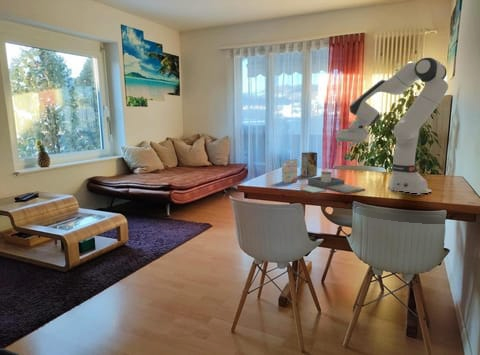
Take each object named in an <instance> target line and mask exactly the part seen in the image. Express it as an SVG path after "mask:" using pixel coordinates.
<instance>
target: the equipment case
mask: <svg viewBox="0 0 480 355" xmlns="http://www.w3.org/2000/svg"><path fill="white" fill-rule="evenodd" d="M307 184H308V185H310V186H313V187H317V188H321V189H325V190H331V191H334V190H335V192H338V191H339V192H338V193H341V194H352V193H353V192H354V193H358V191H359V192H364V190H365V191H366V188H364V187H359V186H355V185H350V184H346V183H345V179H342V178H337V177H333V176H331V182H323V181H321V176H315V177H307ZM354 193H353V194H354Z"/></svg>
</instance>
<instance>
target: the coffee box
mask: <svg viewBox="0 0 480 355" xmlns="http://www.w3.org/2000/svg"><path fill="white" fill-rule="evenodd" d="M300 161H301V164H300V166H301V169H300V170H301V172H300V173H301V174H300V176H303V177H314V176H315V177H316V176H318V174H317V172H318V152H316V151H315V152H314V151H313V152H312V151H307V152H306V151H305V152H301V160H300Z"/></svg>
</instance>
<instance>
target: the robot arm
mask: <svg viewBox="0 0 480 355" xmlns="http://www.w3.org/2000/svg"><path fill="white" fill-rule="evenodd" d="M446 77H447V68H446V66H444V64H442V63H441V62H440V61H439V60H437V59H435V58H433V57H427V56H426V57H423V58H420V59H419V60H418V61H417V62H416V61H409V62H406V64H404V65H402V67H401V68H400V69H398V71H396V72H395V73H394V75H392V76H391V77H389V78H387V79H381V80H379V81H378V82H377V83H375V84H374V85H373V86H372V87H371V86H370V88H369V89H368V90H367V91H365V92H364V93H363V94H361V95H360V96H359V97H357V98H356V99H354V100H353V101H352V102H351V103H350V105H349V111H350V114H353V115H354V116H355V118H354V120H353V121H352V122H351V124H350V125H349V126H348V128H343V129H341V130H339V132H338V133H337V134H336V135H335V139H336V141H337V143H336V146H337V147H340V146H341V145H342V143H343V142H345V143H349V144H348V148H353V147H354V146H356V144H362V143H364V142H365V140H367V137H368V136H369V134H370V133H369V130H368V129H367V127H371V126H374V125H375V124H376V123H377V122H378V120H379V119H380V112H379V111H378V110H377V109H376V108H374V107H373V106H372V105H370V104H369V103H368V102H367V101H368V100H369V99H370V98H371V97H373V96H374V95H376V94H377V93H386V94H389V95H394V96H398V95H402V94H404V93H405V92H407V90H408V89H409V88H410V87H411V86H413V84H414V83H416V82H417V81H419V80H420V81H421V82H422V83H424V86H423V88H422V90H421V91H420V93H419V94H418V95H417V96H416V98H415V100H414V101H413V102H412V104H411V105H410V106H409V108H408V109H407V111H406V112H405V113H404V114H403V115H402V116H401V118H399V121H398V122H396V124H395V125H394V127H393V129H392V130H393V131H392V132H393V135H394V137H395V138H396V142H395V145H394V146H395V147H394V150H393V161H392V162H393V163H392V164H391V177H390V180H389V183H388V186H387V187H388V189H389V190H390V191H393V190H394V191H395V192H399V191H404V192H403V193H405V192H410V193H409V194H411V193H417V194H416V195H421V194H420V193H428V192H431V193H432V189H429V188H428V181H427V180H426V179H425V178H424V177H422V175H421V174H420V173H419V172H418V170H419V169H420V167H419V166H416V165H415V164H416V152H417V147H418V142H419V135H420V129H421V127H422V126H423V125H424V124H425V123H426V122H427V121H428V119H429V118H430V117H431V116H432V114H433V113H434V111H435V110H436V108H437V107H438V106H439V104H440V103H441V101H442V100H443V98H444V97H445V95H446V93H447V91H448V89H449V84H448V82H447V81H446V80H445V78H446ZM394 191H393V192H394ZM428 194H429V193H428Z"/></svg>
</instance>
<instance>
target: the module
mask: <svg viewBox="0 0 480 355" xmlns="http://www.w3.org/2000/svg"><path fill="white" fill-rule="evenodd" d="M332 174H333V172H332V171H328V170H326V171H325V170H323V171H321V174H320V177H321V181H323V182H331V177H332Z"/></svg>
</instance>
